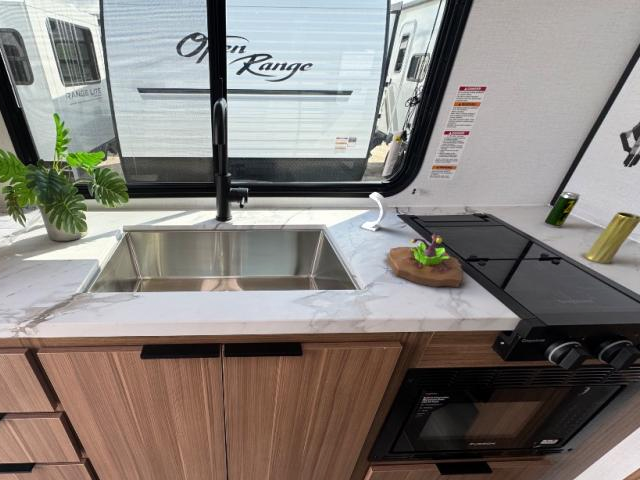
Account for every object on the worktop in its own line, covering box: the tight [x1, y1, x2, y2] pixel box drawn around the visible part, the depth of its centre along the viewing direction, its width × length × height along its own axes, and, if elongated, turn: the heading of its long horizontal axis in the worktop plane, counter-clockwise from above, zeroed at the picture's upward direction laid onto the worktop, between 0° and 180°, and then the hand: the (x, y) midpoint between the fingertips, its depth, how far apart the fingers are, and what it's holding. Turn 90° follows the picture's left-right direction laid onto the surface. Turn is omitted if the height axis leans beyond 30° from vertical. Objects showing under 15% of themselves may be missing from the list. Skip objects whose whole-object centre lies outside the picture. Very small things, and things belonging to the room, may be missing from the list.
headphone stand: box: [361, 191, 388, 232], centre depth 116 cm, size 5×6×12 cm
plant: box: [386, 233, 463, 288], centre depth 91 cm, size 20×20×11 cm
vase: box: [584, 211, 640, 264], centre depth 97 cm, size 6×6×14 cm
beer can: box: [544, 191, 581, 229], centre depth 120 cm, size 5×5×12 cm
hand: (627, 166), depth 105 cm, fingers closed
